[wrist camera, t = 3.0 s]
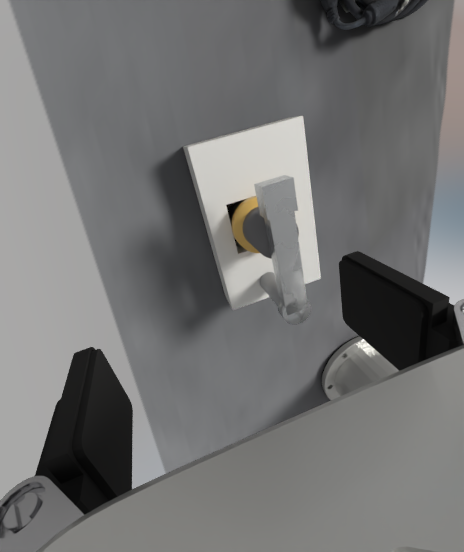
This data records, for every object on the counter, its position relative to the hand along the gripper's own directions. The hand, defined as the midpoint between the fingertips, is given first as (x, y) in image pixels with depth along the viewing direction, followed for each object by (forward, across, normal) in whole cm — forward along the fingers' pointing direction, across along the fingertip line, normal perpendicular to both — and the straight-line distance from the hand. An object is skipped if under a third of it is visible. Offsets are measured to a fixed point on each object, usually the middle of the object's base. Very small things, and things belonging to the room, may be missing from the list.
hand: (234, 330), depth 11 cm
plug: (+21, -7, +3) cm, 22 cm away
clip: (+12, -7, +4) cm, 15 cm away
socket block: (+21, -7, +3) cm, 22 cm away
